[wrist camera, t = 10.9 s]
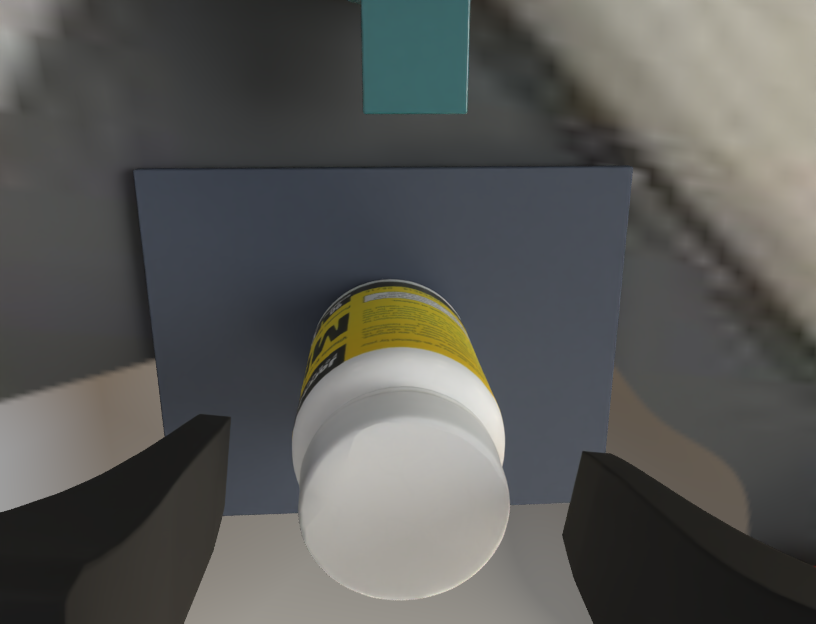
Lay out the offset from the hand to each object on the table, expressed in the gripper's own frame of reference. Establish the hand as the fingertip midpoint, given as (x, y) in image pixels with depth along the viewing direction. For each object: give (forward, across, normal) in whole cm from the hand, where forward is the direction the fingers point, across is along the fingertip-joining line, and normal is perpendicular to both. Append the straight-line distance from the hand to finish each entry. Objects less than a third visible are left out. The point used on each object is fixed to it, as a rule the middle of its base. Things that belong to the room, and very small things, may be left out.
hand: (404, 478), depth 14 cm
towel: (+8, 0, 0) cm, 8 cm away
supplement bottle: (+7, 0, 0) cm, 7 cm away
